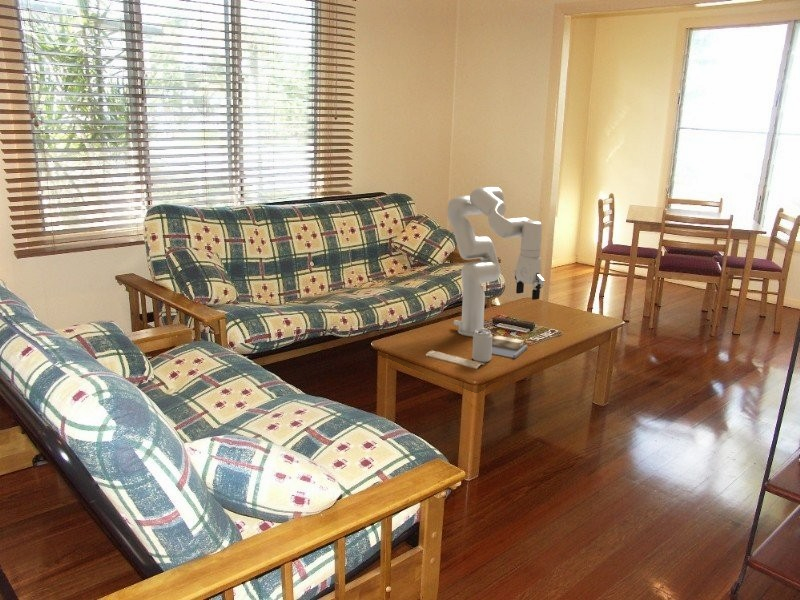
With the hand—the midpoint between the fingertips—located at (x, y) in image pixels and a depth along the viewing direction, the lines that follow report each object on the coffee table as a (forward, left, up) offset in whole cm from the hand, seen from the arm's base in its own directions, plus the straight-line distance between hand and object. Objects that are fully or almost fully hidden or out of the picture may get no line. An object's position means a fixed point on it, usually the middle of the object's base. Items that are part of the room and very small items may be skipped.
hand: (527, 296), depth 277 cm
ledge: (-10, +7, -25) cm, 28 cm away
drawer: (-10, +2, -25) cm, 27 cm away
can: (-13, -13, -25) cm, 31 cm away
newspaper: (-21, -18, -26) cm, 38 cm away
